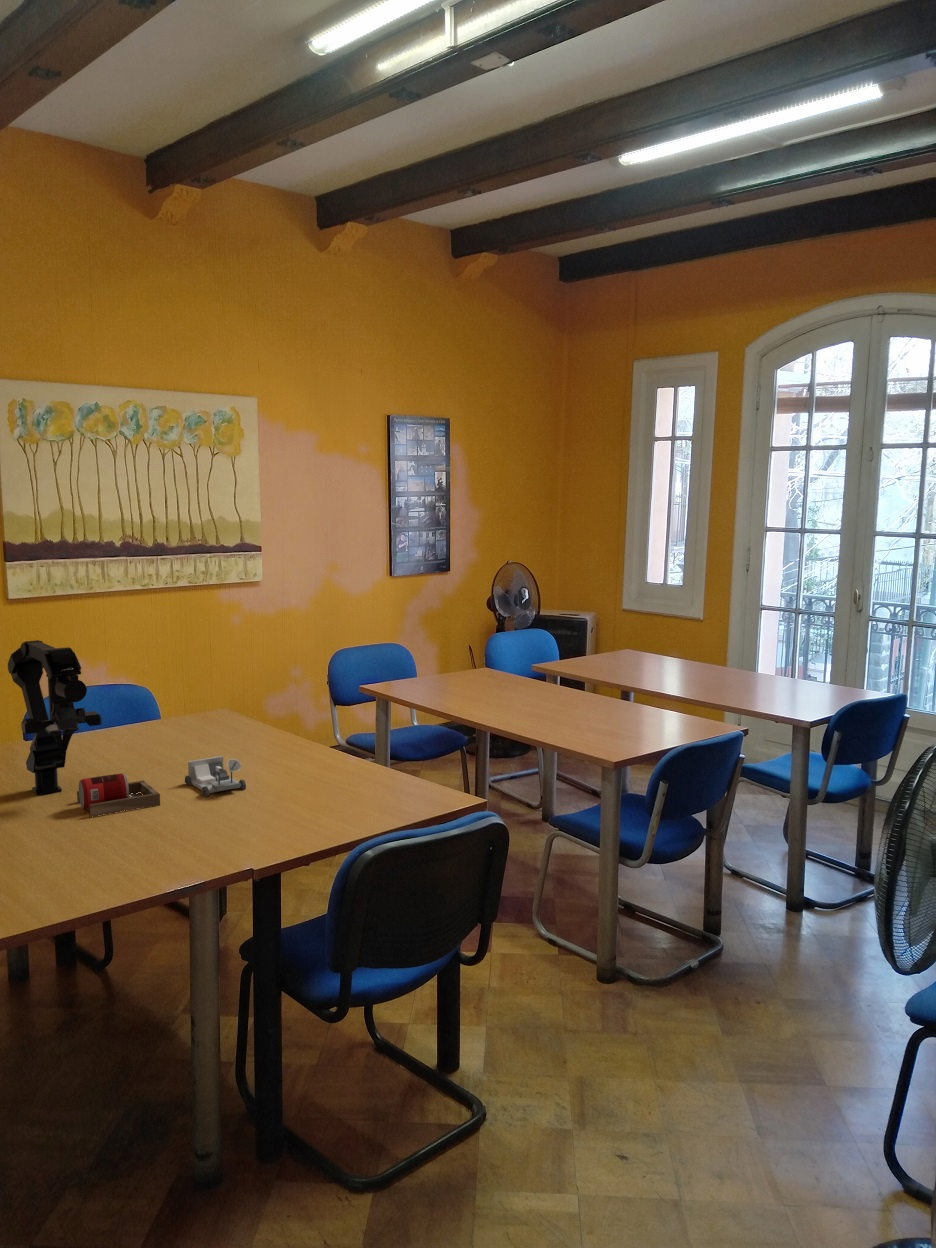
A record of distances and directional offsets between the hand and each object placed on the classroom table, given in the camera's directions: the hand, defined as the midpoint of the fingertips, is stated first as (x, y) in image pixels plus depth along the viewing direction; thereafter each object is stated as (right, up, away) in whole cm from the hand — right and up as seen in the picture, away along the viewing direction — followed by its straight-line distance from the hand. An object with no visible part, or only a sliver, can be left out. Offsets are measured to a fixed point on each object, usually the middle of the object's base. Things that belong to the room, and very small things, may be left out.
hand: (63, 754), depth 249 cm
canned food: (+7, -10, -6) cm, 13 cm away
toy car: (+36, -12, +15) cm, 41 cm away
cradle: (+14, -13, +1) cm, 19 cm away
